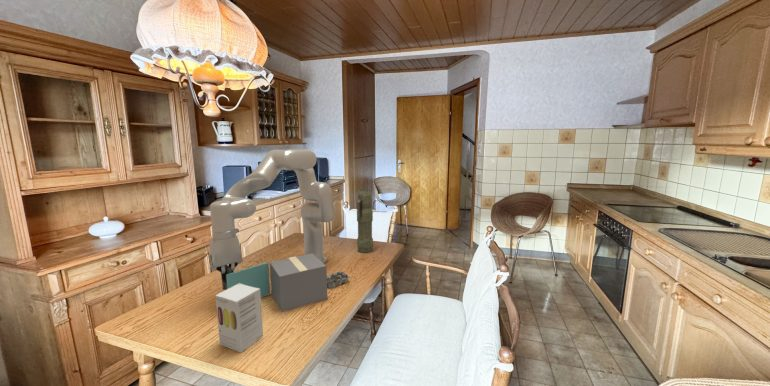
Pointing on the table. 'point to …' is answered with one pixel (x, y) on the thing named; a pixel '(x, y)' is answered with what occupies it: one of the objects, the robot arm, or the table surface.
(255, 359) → the table surface
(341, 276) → the egg carton
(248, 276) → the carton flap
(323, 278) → the carton
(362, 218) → the thermos
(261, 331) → the supplement box
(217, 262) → the robot arm
